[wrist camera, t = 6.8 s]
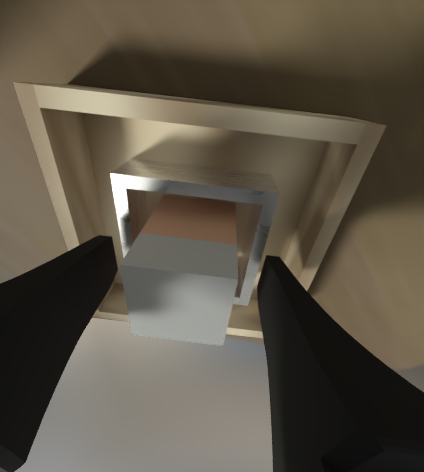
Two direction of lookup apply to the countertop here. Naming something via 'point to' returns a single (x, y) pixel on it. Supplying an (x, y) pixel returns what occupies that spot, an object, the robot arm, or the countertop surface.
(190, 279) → the tan-topped block
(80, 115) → the walled box
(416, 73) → the countertop surface
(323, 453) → the robot arm
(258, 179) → the frame
